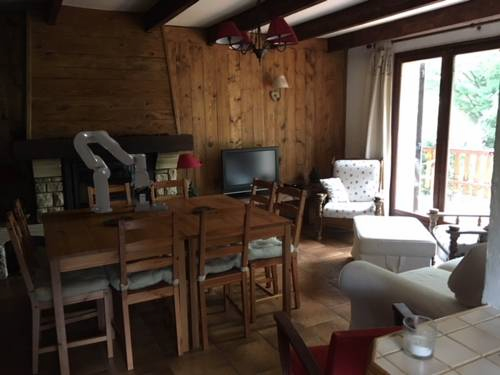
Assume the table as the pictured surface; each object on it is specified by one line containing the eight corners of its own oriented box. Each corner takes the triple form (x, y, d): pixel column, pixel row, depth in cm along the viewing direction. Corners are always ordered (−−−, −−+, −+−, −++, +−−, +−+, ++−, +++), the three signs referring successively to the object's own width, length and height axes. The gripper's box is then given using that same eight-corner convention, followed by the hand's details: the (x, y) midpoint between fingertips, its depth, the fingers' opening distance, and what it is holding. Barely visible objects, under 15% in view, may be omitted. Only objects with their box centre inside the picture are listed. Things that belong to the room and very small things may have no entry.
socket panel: (134, 212, 312) (134, 204, 311) (135, 209, 322) (134, 201, 321) (168, 210, 317) (167, 202, 316) (167, 207, 328) (167, 199, 327)
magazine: (156, 201, 340) (147, 185, 334) (142, 210, 334) (133, 194, 328) (154, 201, 343) (145, 185, 337) (140, 210, 337) (131, 194, 331)
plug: (140, 207, 316) (139, 195, 314) (140, 206, 319) (139, 194, 318) (145, 206, 316) (145, 195, 315) (145, 205, 320) (145, 194, 319)
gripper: (128, 172, 308) (131, 195, 311) (153, 170, 312) (155, 193, 315) (129, 171, 315) (131, 194, 318) (153, 169, 319) (155, 192, 322)
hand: (143, 193), depth 316 cm, fingers open, 9 cm apart
